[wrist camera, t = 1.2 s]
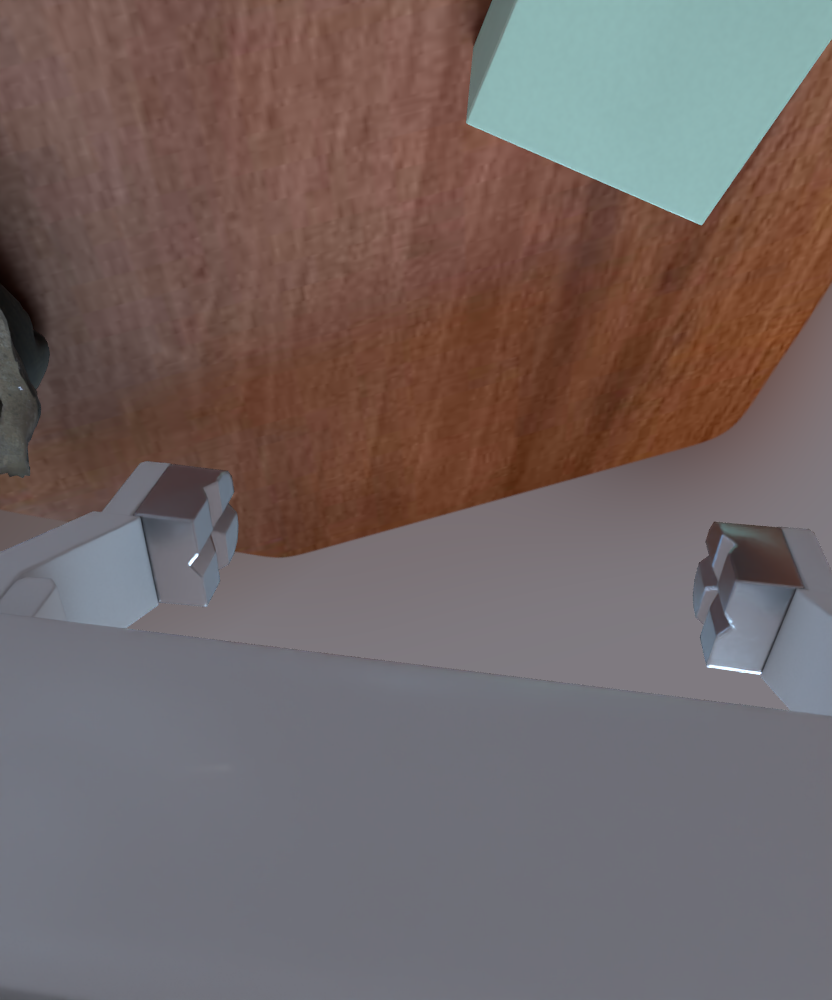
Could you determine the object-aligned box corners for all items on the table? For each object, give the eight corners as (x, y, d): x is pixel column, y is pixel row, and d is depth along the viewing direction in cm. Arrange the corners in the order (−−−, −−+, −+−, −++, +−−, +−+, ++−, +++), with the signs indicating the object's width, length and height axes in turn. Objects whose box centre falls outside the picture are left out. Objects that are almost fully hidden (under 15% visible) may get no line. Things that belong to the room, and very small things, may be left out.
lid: (651, -329, 27) (672, -330, 23) (953, -151, 29) (1012, -127, 26) (466, 117, 38) (461, 162, 34) (699, 218, 40) (717, 270, 37)
